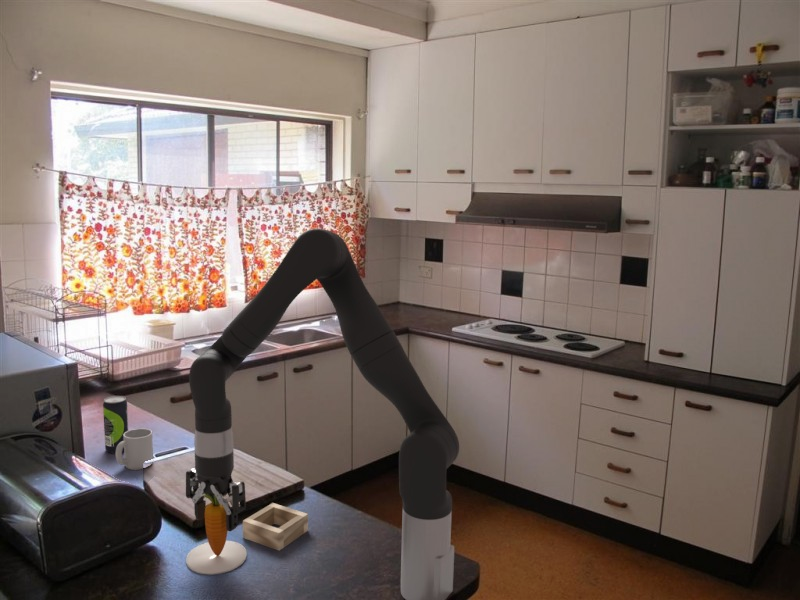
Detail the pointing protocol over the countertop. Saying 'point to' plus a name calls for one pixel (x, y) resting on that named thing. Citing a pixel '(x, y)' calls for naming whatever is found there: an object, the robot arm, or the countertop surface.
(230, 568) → the domed disc
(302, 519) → the pocket frame
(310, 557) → the countertop surface
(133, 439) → the cup
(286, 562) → the countertop surface
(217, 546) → the carrot
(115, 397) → the beverage can
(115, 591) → the countertop surface
